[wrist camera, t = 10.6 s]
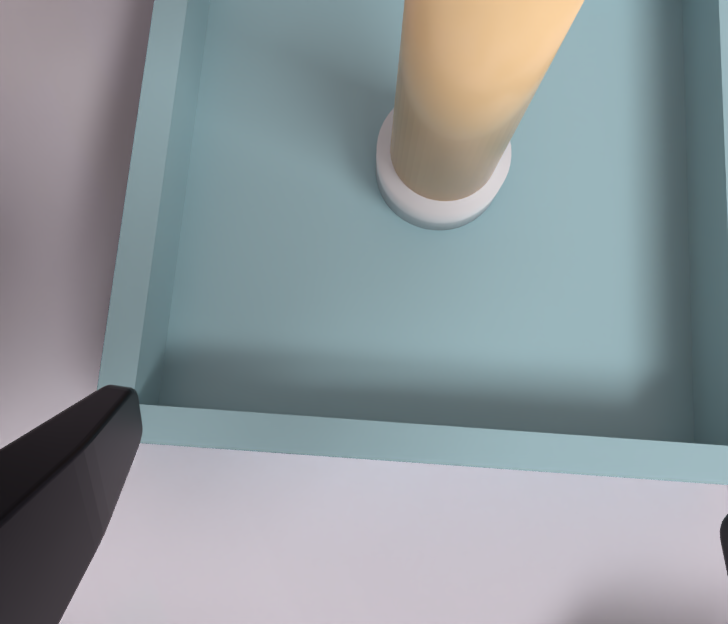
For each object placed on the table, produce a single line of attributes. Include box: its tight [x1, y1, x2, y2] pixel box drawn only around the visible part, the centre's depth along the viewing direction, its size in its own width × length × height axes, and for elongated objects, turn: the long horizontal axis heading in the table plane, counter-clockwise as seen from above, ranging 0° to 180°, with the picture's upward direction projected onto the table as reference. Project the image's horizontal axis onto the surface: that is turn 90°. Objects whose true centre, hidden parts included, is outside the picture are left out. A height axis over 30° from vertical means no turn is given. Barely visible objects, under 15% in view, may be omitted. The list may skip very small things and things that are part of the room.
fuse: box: [376, 0, 584, 230], centre depth 13 cm, size 4×4×13 cm
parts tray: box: [97, 0, 728, 485], centre depth 19 cm, size 18×18×3 cm
